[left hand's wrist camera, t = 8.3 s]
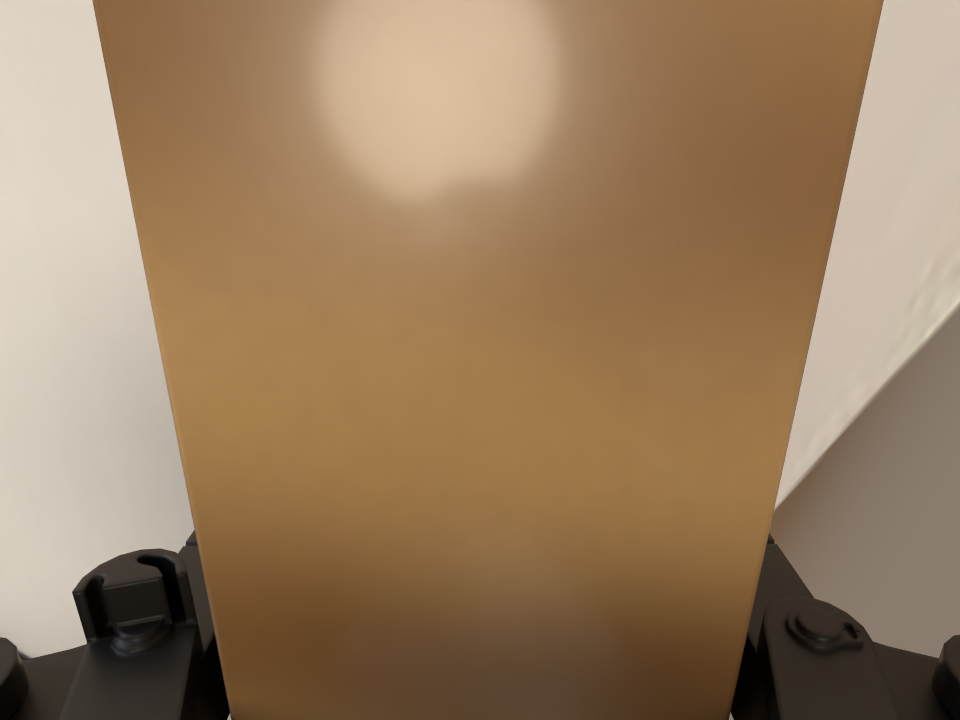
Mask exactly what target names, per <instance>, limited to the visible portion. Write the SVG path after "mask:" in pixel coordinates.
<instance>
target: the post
mask: <svg viewBox="0 0 960 720" xmlns="http://www.w3.org/2000/svg"><path fill="white" fill-rule="evenodd" d="M883 1H884V0H93V5H94V10H95V16H96V21H97V26H98V31H99V36H100V41H101V47H102V52H103V57H104V62H105V67H106V72H107V78H108V83H109V88H110V93H111V98H112V104H113V109H114V114H115V119H116V124H117V129H118V135H119V140H120V145H121V150H122V155H123V160H124V166H125V171H126V176H127V181H128V186H129V191H130V197H131V202H132V207H133V212H134V217H135V223H136V228H137V233H138V238H139V243H140V248H141V254H142V259H143V264H144V269H145V274H146V279H147V285H148V290H149V295H150V300H151V305H152V311H153V316H154V321H155V326H156V331H157V336H158V342H159V347H160V352H161V357H162V362H163V367H164V373H165V378H166V383H167V388H168V393H169V398H170V404H171V409H172V414H173V419H174V424H175V430H176V435H177V440H178V445H179V450H180V455H181V461H182V466H183V471H184V476H185V481H186V486H187V492H188V497H189V502H190V507H191V512H192V518H193V523H194V528H195V533H196V538H197V543H198V549H199V554H200V559H201V564H202V569H203V574H204V580H205V585H206V590H207V595H208V600H209V605H210V611H211V616H212V621H213V626H214V631H215V637H216V642H217V647H218V652H219V657H220V662H221V668H222V673H223V678H224V683H225V688H226V693H227V699H228V704H229V709H230V714H231V719H232V720H729V716H730V711H731V706H732V702H733V697H734V692H735V688H736V683H737V679H738V674H739V669H740V665H741V660H742V655H743V651H744V646H745V641H746V637H747V632H748V627H749V623H750V618H751V614H752V609H753V604H754V600H755V595H756V590H757V586H758V581H759V576H760V572H761V567H762V562H763V558H764V553H765V549H766V544H767V539H768V535H769V530H770V525H771V521H772V516H773V511H774V507H775V502H776V497H777V493H778V488H779V484H780V479H781V474H782V470H783V465H784V460H785V456H786V451H787V446H788V442H789V437H790V432H791V428H792V423H793V419H794V414H795V409H796V405H797V400H798V395H799V391H800V386H801V381H802V377H803V372H804V368H805V363H806V358H807V354H808V349H809V344H810V340H811V335H812V330H813V326H814V321H815V316H816V312H817V307H818V303H819V298H820V293H821V289H822V284H823V279H824V275H825V270H826V265H827V261H828V256H829V251H830V247H831V242H832V238H833V233H834V228H835V224H836V219H837V214H838V210H839V205H840V200H841V196H842V191H843V186H844V182H845V177H846V173H847V168H848V163H849V159H850V154H851V149H852V145H853V140H854V135H855V131H856V126H857V121H858V117H859V112H860V108H861V103H862V98H863V94H864V89H865V84H866V80H867V75H868V70H869V66H870V61H871V56H872V52H873V47H874V43H875V38H876V33H877V29H878V24H879V19H880V15H881V10H882V5H883Z"/></svg>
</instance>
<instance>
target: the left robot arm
mask: <svg viewBox="0 0 960 720" xmlns="http://www.w3.org/2000/svg"><path fill="white" fill-rule="evenodd" d="M72 593H73V596H74V600H75V603H76V606H77V610H78V613H79V616H80V620H81V623H82V627H83V630H84V633H85V637H86V640H87V644H86V645H83V646H80V647H76V648H73V649H70V650H65V651H61V652H57V653H53V654H49V655H44V656H40V657H36V658H32V659H28V660H23V659H21V658H20V656H19V653H18V650H17V647H16V646H15V645H14V644H13V643H12V642H10V641H9V640H8V639H7V638H0V720H227V718H228V716H229V714H230V709H229V704H228V699H227V693H226V688H225V683H224V678H223V673H222V668H221V662H220V657H219V652H218V647H217V642H216V637H215V631H214V626H213V621H212V616H211V611H210V605H209V600H208V595H207V590H206V585H205V580H204V574H203V569H202V564H201V559H200V554H199V549H198V543H197V538H196V533H195V530H194V531H193V533H192V534H191V536H190V537H189V539H188V540H187V542H186V546H183V547H182V549H181V550H180V552H179V553H178V554H177V553H176V552H172V551H168V550H164V549H145V550H138V551H134V552H131V553H127V554H123V555H120V556H117V557H115V558H113V559H111V560H109V561H107V562H105V563H103V564H101V565H99V566H98V567H96V568H95V569H94V570H92V571H91V572H90V573H88V574H87V575H86V576H84V577H83V578H82V579H81V581H80V582H79V583H78V585H77V586H76V587H75V589H74V590H73V592H72ZM731 714H732V716H733V719H734V720H960V635H955V636H953V637H952V638H950V639H949V640H948V641H947V642H946V643H944V646H943V648H942V651H941V654H940V657H939V658H935V657H931V656H927V655H922V654H918V653H914V652H910V651H905V650H901V649H897V648H893V647H889V646H885V645H882V644H879V643H876V642H873V641H872V640H871V638H870V637H869V635H868V633H867V632H866V630H865V629H864V627H863V626H862V625H861V624H859V623H858V622H857V621H856V620H855V619H854V618H852V617H851V616H850V615H849V614H848V613H846V612H844V611H842V610H841V609H839V608H837V607H835V606H833V605H831V604H829V603H827V602H824V601H820V600H817V599H814V597H813V596H812V594H811V593H810V591H809V590H808V589H807V587H806V586H805V584H804V583H803V581H802V580H801V578H800V577H799V576H798V574H797V573H796V571H795V570H794V568H793V567H792V565H791V564H790V563H789V561H788V560H787V558H786V557H785V555H784V554H783V552H782V551H781V550H780V548H779V547H778V545H777V544H774V539H773V538H772V537H771V535H770V534H769V535H768V539H767V544H766V549H765V553H764V558H763V562H762V567H761V572H760V576H759V581H758V586H757V590H756V595H755V600H754V604H753V609H752V614H751V618H750V623H749V627H748V632H747V637H746V641H745V646H744V651H743V655H742V660H741V665H740V669H739V674H738V679H737V683H736V688H735V692H734V697H733V702H732V706H731Z"/></svg>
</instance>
